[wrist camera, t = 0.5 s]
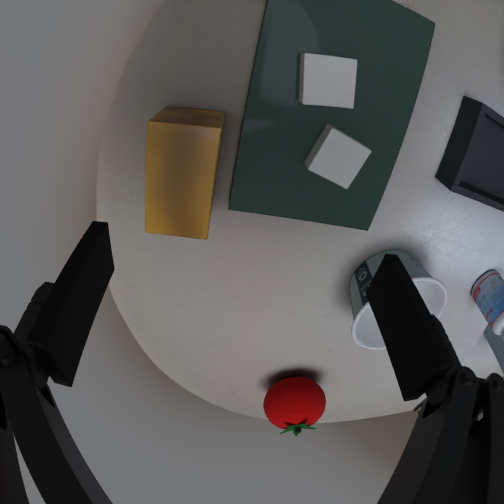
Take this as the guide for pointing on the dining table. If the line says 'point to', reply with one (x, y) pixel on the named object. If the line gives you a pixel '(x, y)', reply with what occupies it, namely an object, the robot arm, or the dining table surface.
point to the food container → (363, 317)
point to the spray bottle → (496, 345)
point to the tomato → (294, 404)
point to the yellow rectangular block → (181, 170)
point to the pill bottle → (491, 300)
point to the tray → (475, 155)
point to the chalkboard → (327, 107)
